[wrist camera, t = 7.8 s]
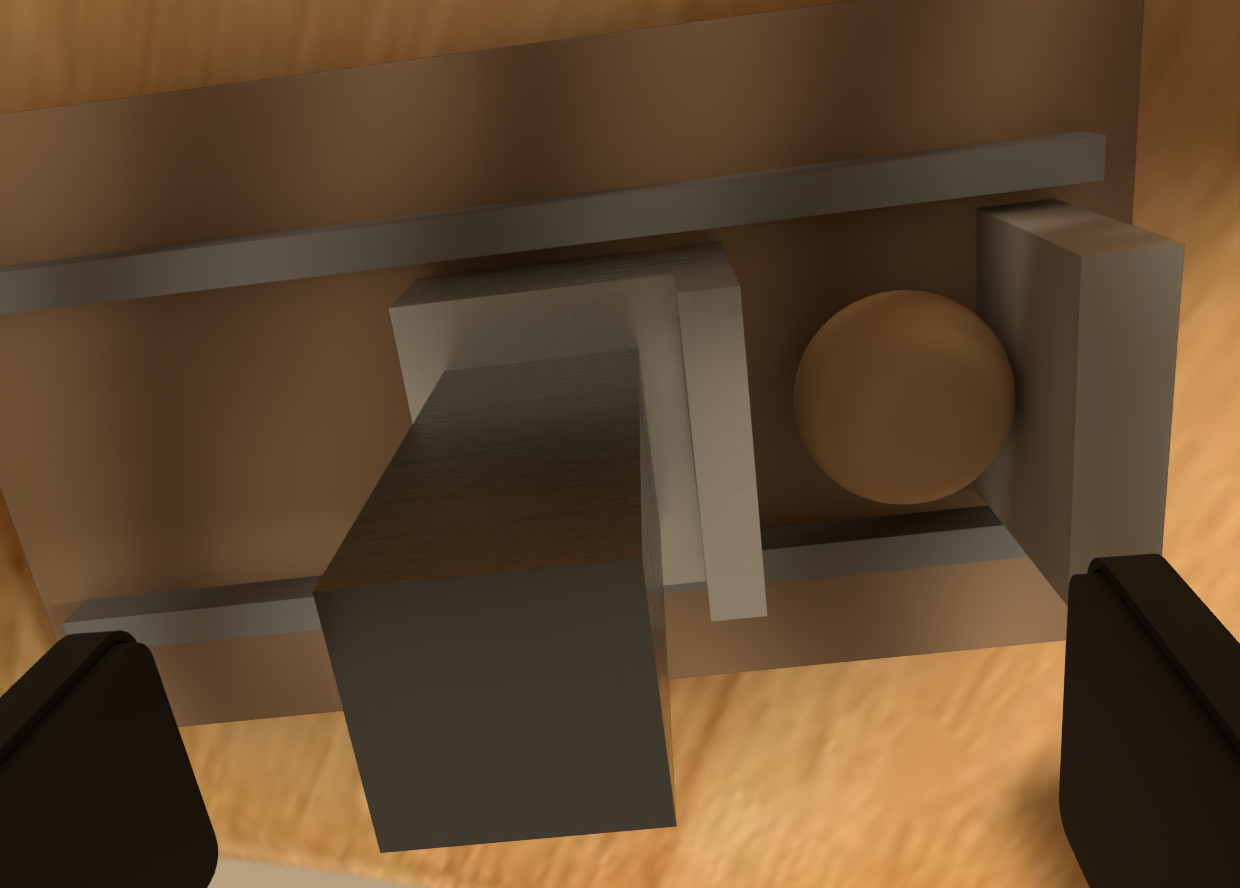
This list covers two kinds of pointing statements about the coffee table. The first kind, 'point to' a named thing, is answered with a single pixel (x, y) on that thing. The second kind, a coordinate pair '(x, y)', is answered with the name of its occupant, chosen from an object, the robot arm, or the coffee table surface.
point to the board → (591, 227)
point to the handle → (544, 545)
